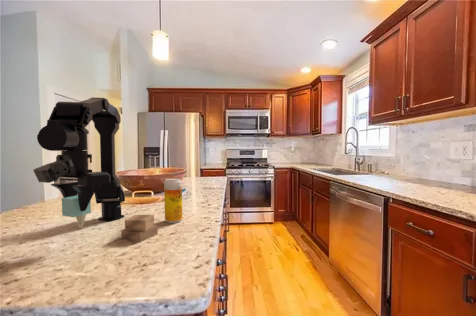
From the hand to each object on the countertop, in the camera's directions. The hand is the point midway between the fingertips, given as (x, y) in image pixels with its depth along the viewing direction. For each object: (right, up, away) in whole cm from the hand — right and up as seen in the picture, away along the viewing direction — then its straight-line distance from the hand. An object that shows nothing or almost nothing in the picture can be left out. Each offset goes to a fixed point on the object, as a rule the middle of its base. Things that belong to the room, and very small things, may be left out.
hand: (76, 210), depth 63 cm
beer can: (+19, -9, +23) cm, 31 cm away
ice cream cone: (-9, -10, +15) cm, 20 cm away
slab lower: (+13, -10, +8) cm, 19 cm away
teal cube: (0, -1, 0) cm, 1 cm away
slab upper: (+13, -7, +8) cm, 17 cm away
